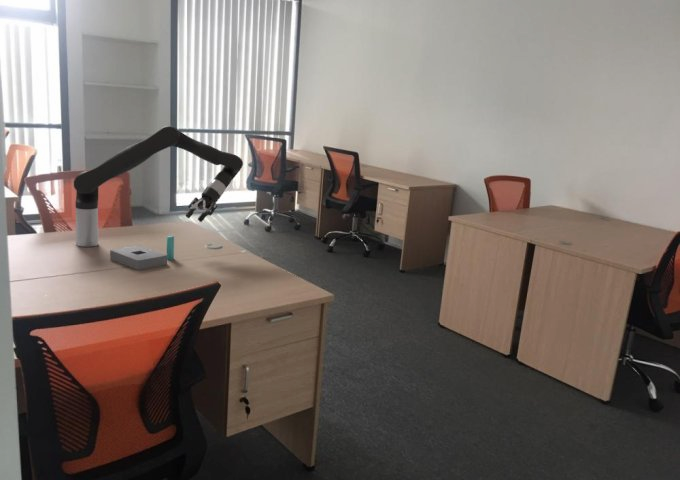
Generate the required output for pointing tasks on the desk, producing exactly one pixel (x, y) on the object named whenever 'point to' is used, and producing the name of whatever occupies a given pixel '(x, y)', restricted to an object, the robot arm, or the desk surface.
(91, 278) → the desk surface
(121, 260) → the hole block
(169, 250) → the peg
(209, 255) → the desk surface
